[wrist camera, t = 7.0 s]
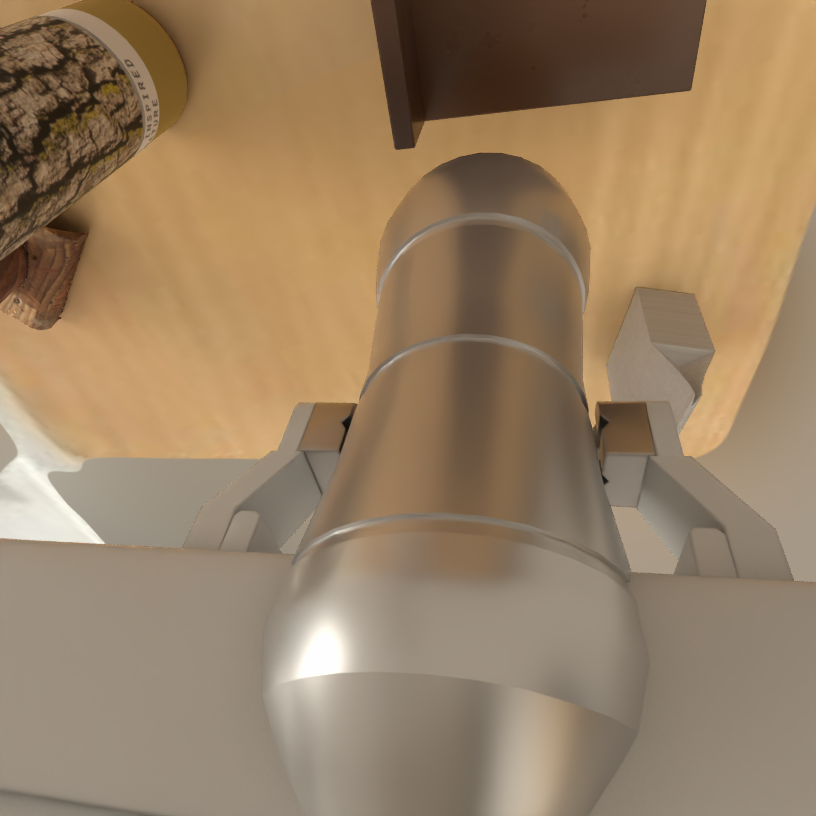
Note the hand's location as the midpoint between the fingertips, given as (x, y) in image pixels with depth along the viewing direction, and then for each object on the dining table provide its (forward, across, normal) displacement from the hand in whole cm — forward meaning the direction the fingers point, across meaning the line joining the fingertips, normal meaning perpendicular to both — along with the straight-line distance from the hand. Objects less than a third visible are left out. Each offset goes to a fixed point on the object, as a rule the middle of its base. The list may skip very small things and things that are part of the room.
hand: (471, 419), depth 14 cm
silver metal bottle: (+9, 0, 0) cm, 9 cm away
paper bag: (+24, -10, +16) cm, 31 cm away
